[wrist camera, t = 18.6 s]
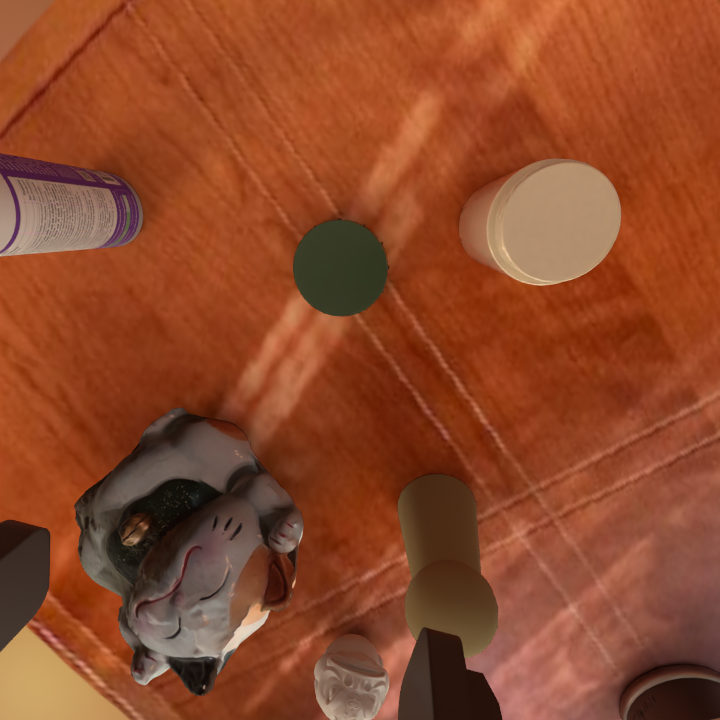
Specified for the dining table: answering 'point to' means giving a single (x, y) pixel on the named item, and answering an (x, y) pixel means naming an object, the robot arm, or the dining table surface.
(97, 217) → the container
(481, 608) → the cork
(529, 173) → the jar
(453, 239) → the dining table surface
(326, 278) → the lid
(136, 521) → the lucky cat figurine
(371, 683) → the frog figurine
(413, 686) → the robot arm
